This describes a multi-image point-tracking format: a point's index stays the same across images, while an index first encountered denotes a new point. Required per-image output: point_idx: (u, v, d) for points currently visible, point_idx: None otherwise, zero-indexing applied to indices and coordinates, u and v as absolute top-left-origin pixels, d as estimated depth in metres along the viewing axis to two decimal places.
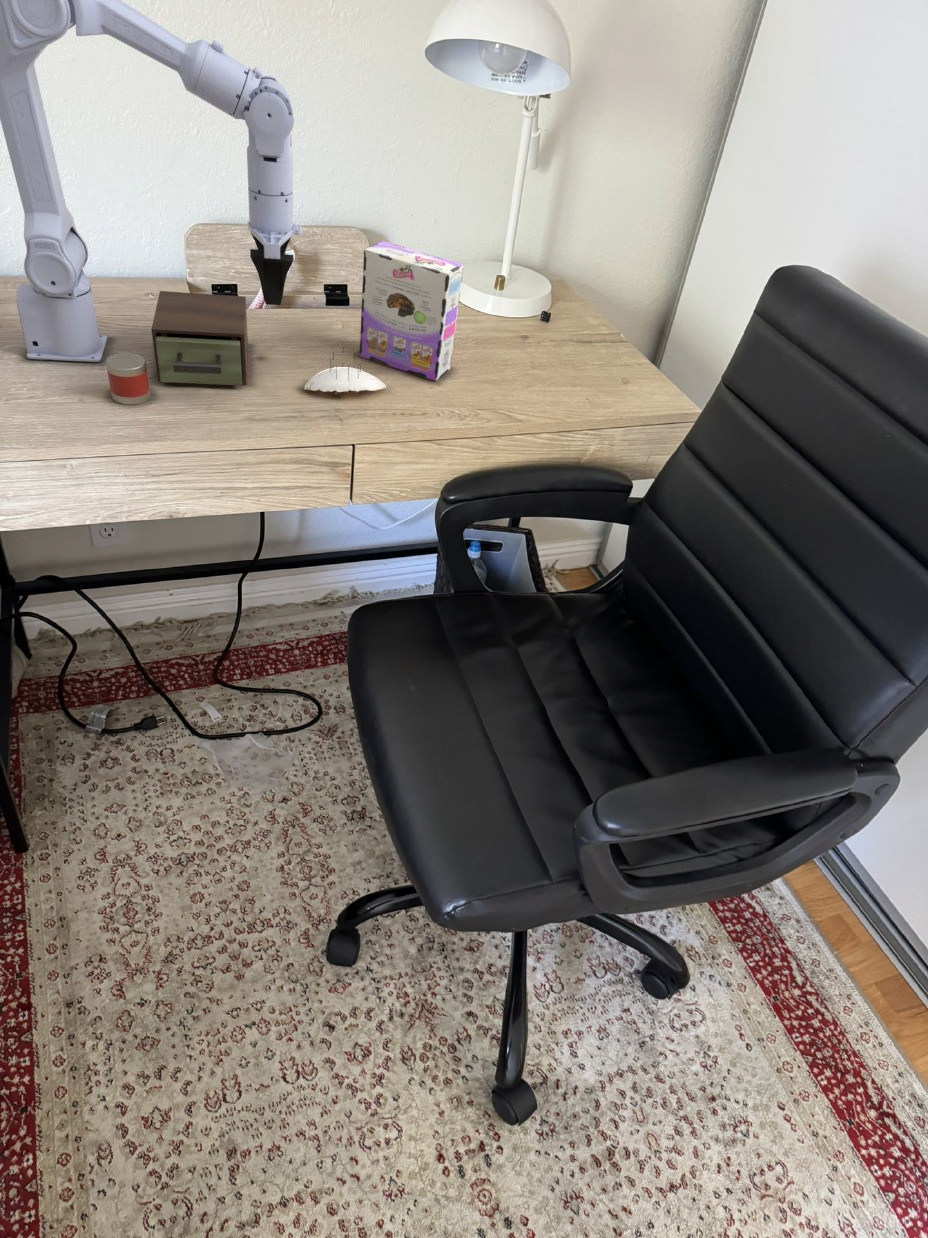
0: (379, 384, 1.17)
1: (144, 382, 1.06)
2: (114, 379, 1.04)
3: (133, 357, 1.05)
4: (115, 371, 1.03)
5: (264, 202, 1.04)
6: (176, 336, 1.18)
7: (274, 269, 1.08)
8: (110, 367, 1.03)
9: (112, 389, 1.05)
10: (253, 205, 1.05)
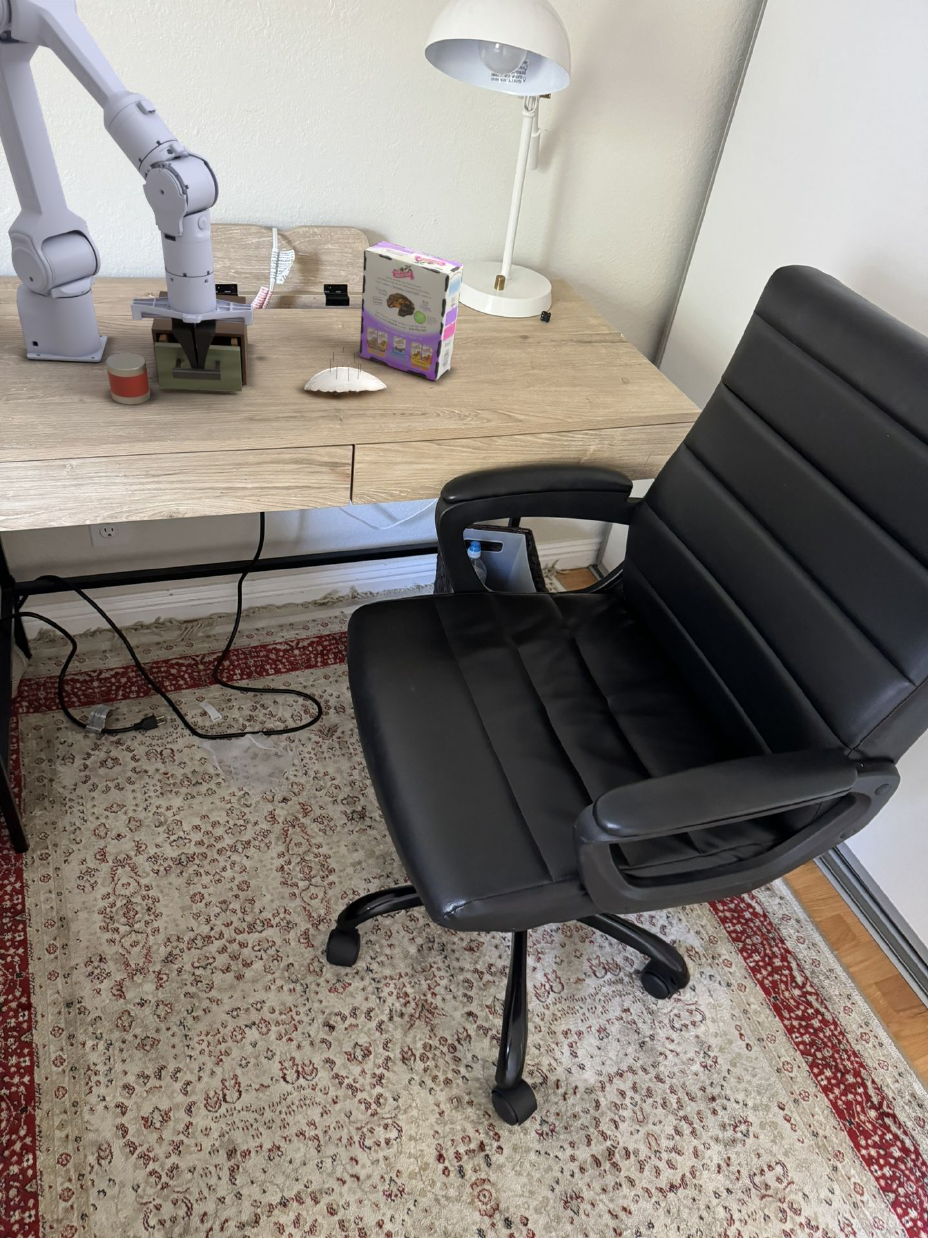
0: (379, 384, 1.17)
1: (144, 382, 1.06)
2: (114, 379, 1.04)
3: (133, 357, 1.05)
4: (115, 371, 1.03)
5: None
6: (175, 341, 1.16)
7: None
8: (110, 367, 1.03)
9: (112, 389, 1.05)
10: None
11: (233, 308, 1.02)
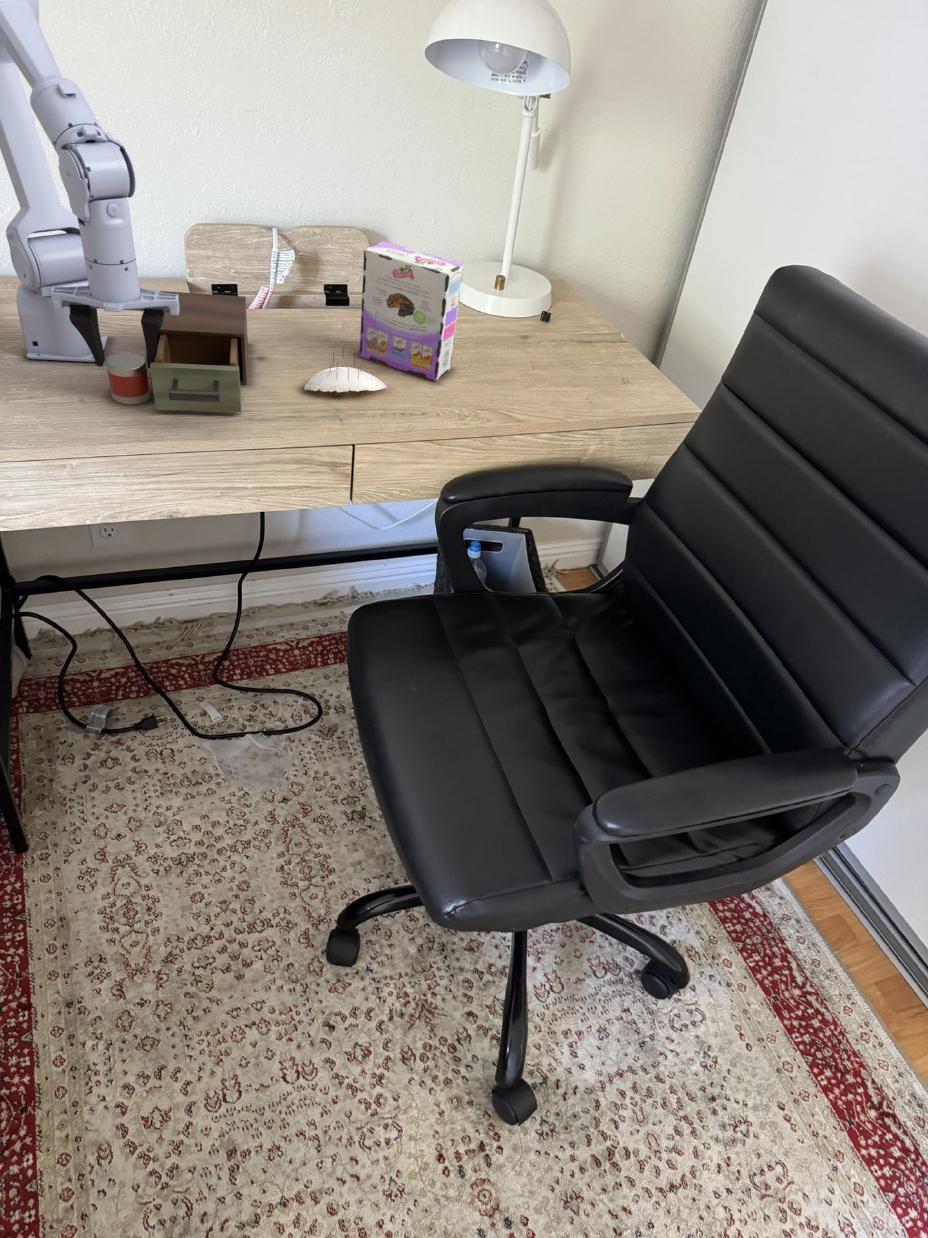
0: (379, 384, 1.17)
1: (144, 382, 1.06)
2: (114, 379, 1.04)
3: (133, 357, 1.05)
4: (115, 371, 1.03)
5: None
6: (172, 359, 1.12)
7: None
8: (110, 367, 1.03)
9: (112, 389, 1.05)
10: None
11: (157, 297, 1.00)
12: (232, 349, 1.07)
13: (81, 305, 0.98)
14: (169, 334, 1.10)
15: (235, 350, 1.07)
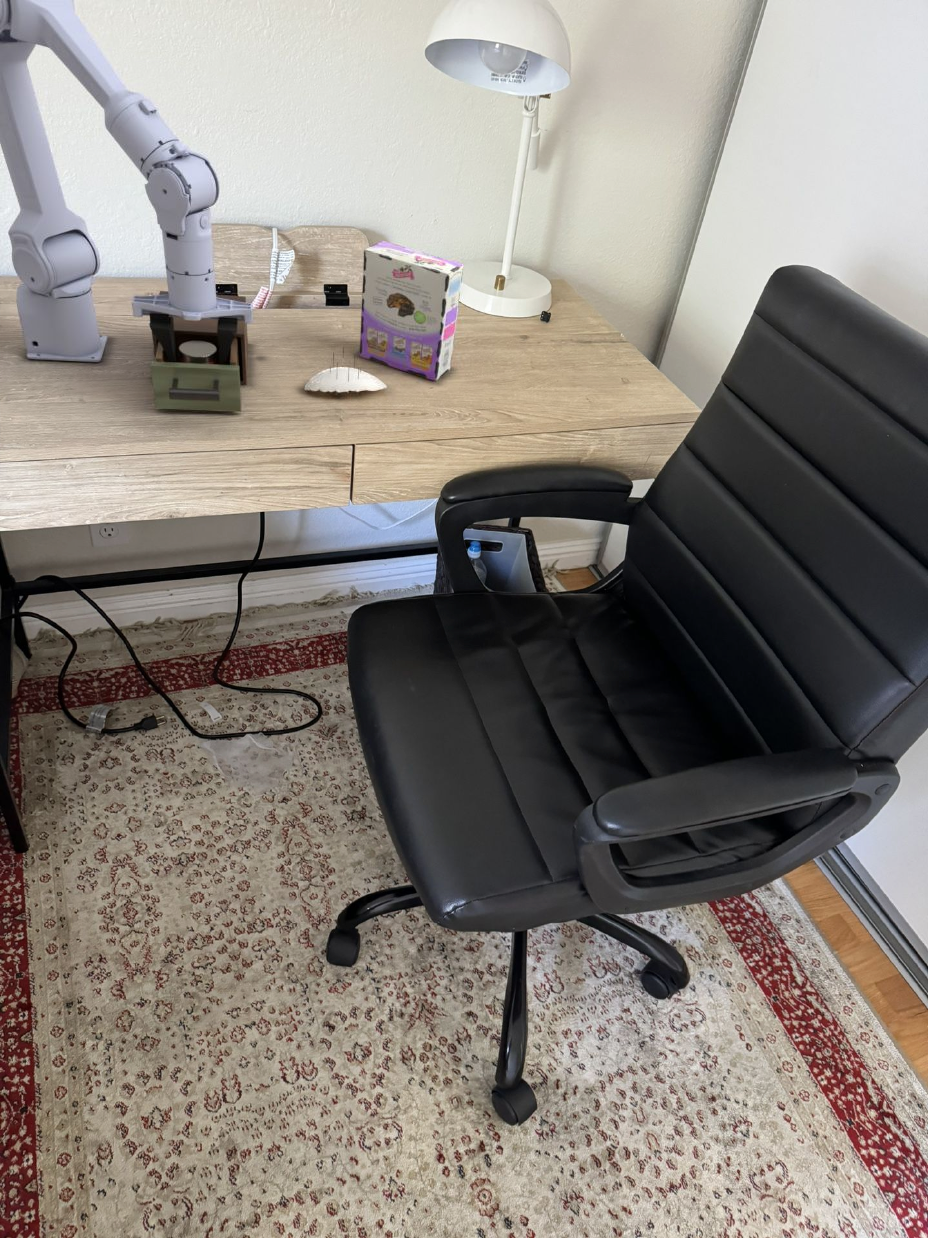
0: (379, 384, 1.17)
1: None
2: None
3: (205, 345, 1.07)
4: (188, 358, 1.05)
5: None
6: None
7: None
8: (184, 354, 1.05)
9: None
10: None
11: (233, 306, 1.03)
12: (232, 348, 1.08)
13: (161, 314, 1.01)
14: None
15: (235, 349, 1.08)
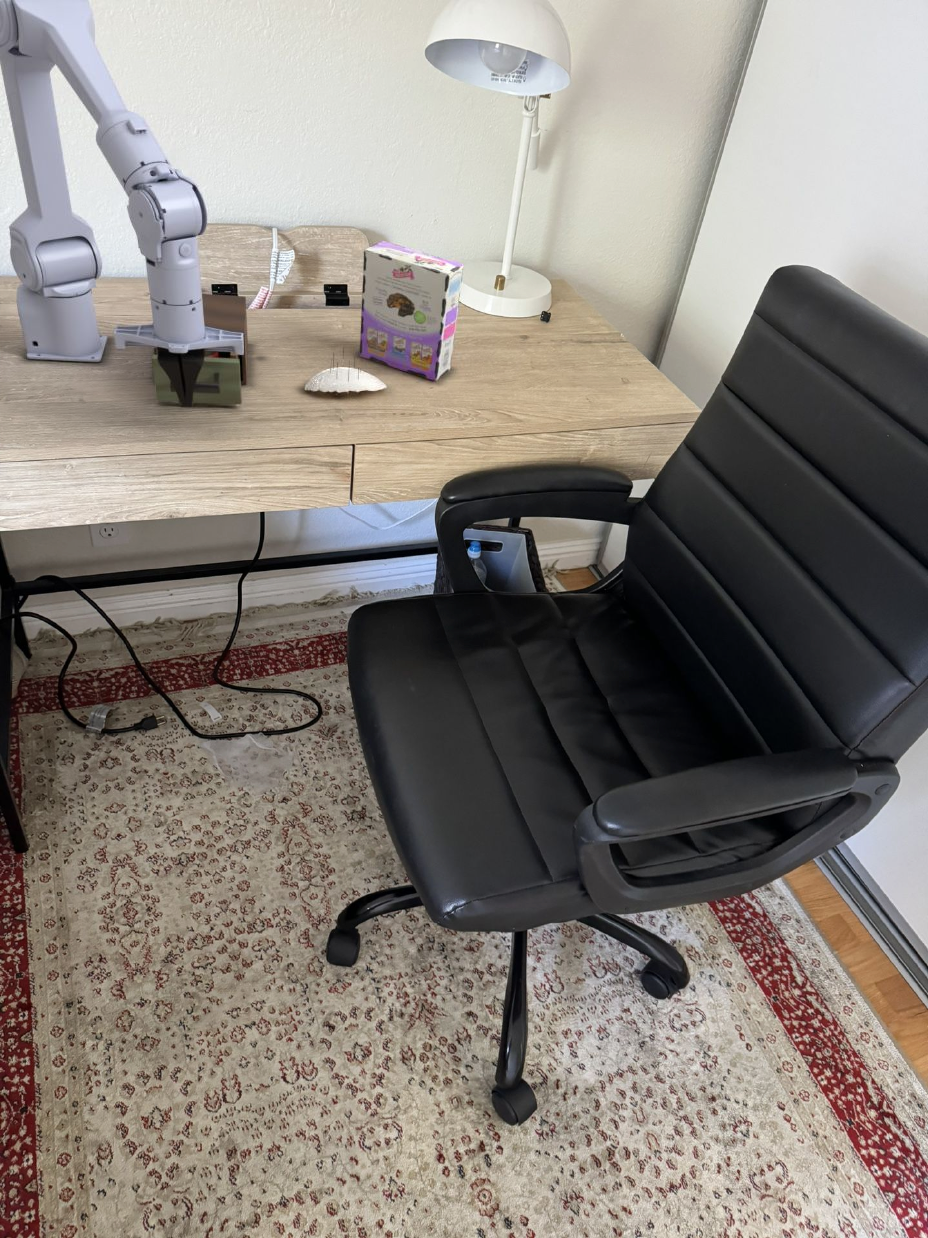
0: (379, 384, 1.17)
1: None
2: None
3: None
4: None
5: None
6: None
7: None
8: None
9: None
10: None
11: (222, 336, 0.96)
12: None
13: None
14: None
15: None
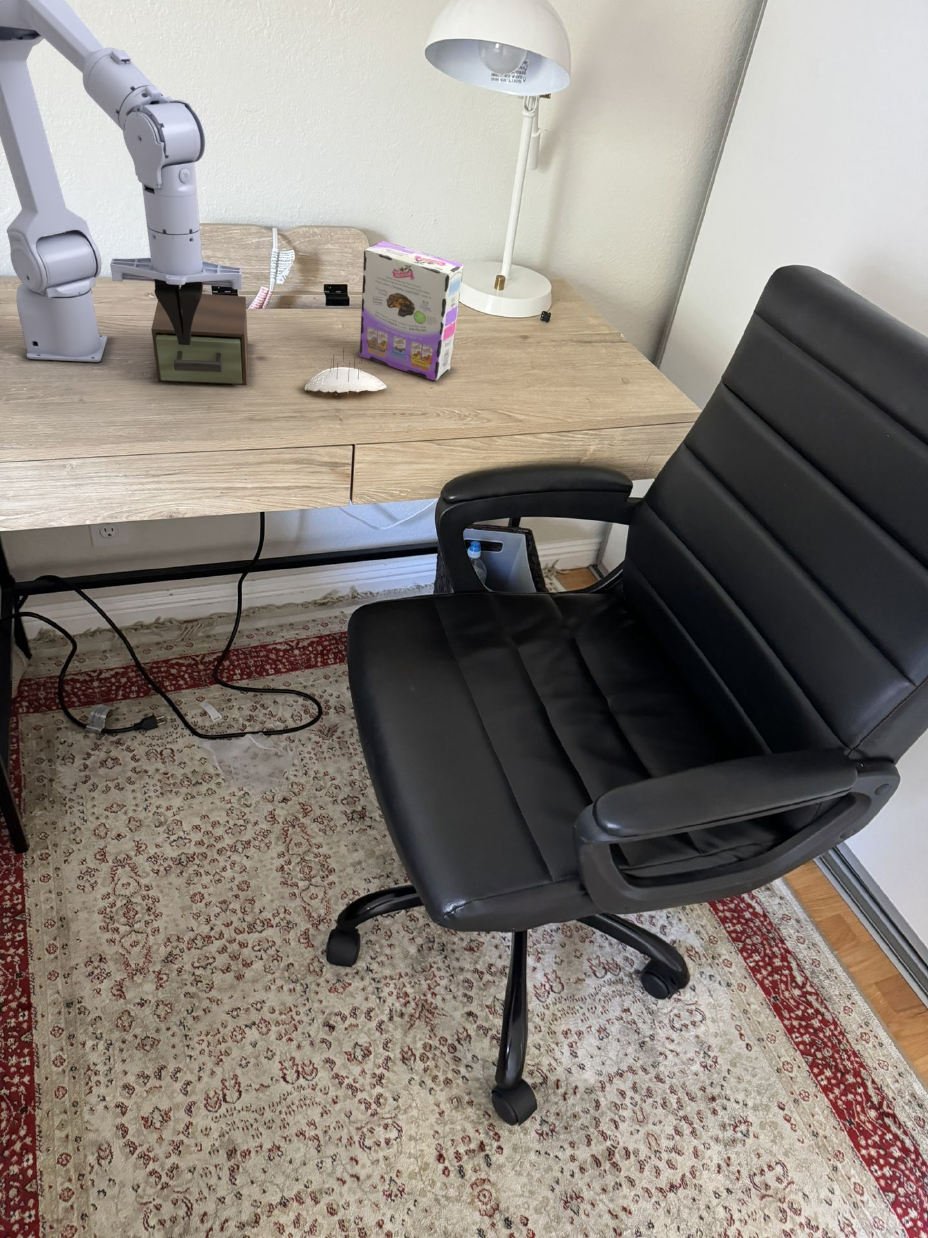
0: (379, 384, 1.17)
1: None
2: None
3: None
4: None
5: None
6: None
7: None
8: None
9: None
10: None
11: (220, 270, 0.95)
12: None
13: None
14: None
15: None
